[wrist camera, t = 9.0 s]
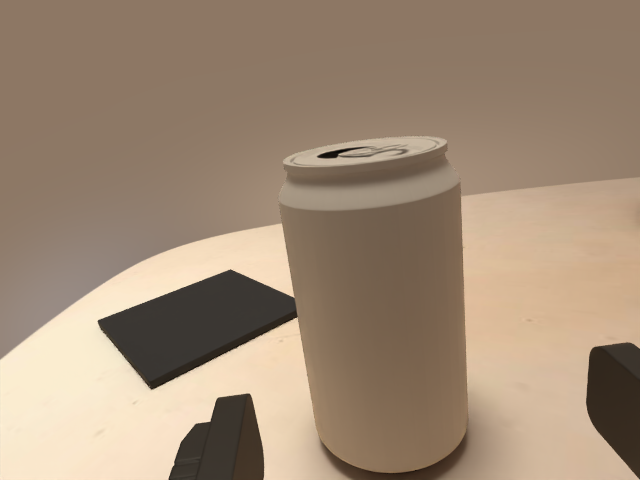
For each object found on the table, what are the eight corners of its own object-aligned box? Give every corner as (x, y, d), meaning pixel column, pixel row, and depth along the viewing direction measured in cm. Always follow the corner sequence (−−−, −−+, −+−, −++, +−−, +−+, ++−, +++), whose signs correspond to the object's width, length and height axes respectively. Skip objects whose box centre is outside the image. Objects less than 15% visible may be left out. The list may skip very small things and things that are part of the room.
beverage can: (384, 364, 24) (360, 133, 20) (500, 420, 19) (496, 128, 15) (288, 431, 20) (236, 161, 16) (401, 522, 15) (364, 168, 11)
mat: (151, 389, 24) (149, 381, 24) (99, 326, 33) (97, 320, 33) (309, 310, 31) (308, 303, 30) (231, 274, 39) (230, 269, 39)
